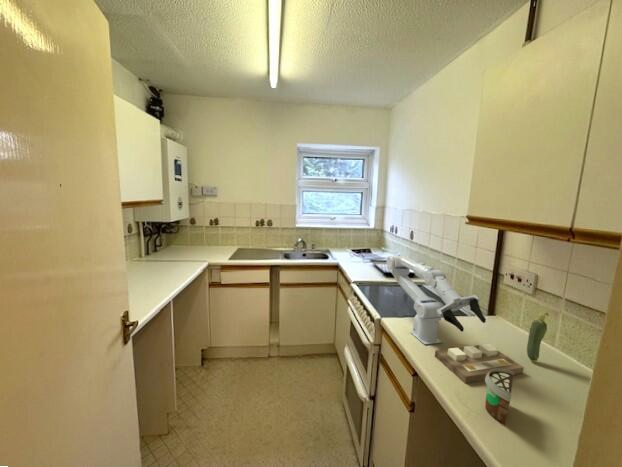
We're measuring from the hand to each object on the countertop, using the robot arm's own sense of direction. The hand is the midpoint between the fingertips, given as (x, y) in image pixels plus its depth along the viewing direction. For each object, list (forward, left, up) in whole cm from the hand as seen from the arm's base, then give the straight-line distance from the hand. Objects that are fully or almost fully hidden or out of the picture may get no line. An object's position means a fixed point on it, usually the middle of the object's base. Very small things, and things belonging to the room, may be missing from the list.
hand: (473, 325), depth 89 cm
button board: (-2, +7, -17) cm, 18 cm away
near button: (-5, 0, -15) cm, 16 cm away
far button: (-5, +14, -15) cm, 21 cm away
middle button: (-5, +7, -15) cm, 17 cm away
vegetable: (0, +30, -17) cm, 35 cm away
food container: (+15, -5, -17) cm, 23 cm away
